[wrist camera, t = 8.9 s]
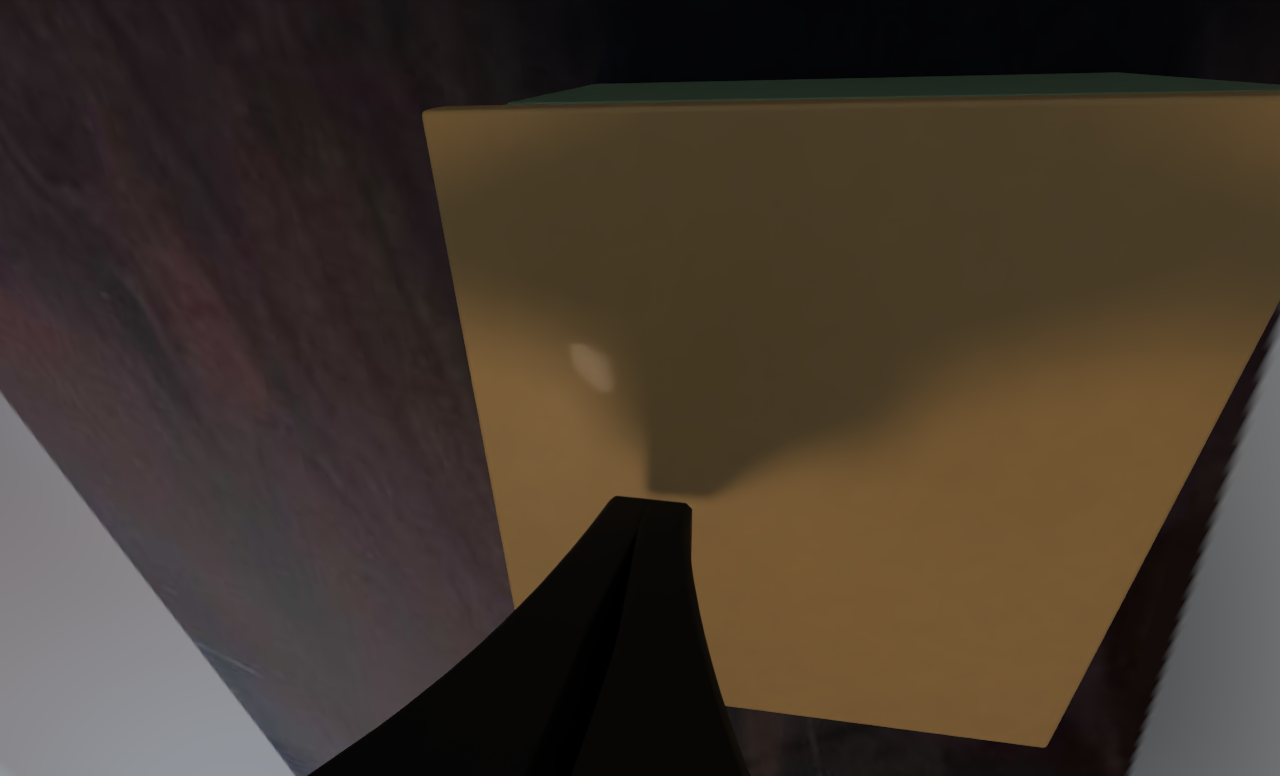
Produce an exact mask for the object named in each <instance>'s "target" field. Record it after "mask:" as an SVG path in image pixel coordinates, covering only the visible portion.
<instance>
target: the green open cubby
mask: <svg viewBox="0 0 1280 776" xmlns="http://www.w3.org/2000/svg"><path fill="white" fill-rule="evenodd" d="M1229 91H1280V85H1274V84H1261V83H1248V82H1235V81H1222V80H1209V79H1196V78H1183V77H1170V76H1157V75H1144V74H1131V73H1118V72H1114V73H1069V74H1024V75H979V76H934V77H888V78H843V79H798V80H753V81H708V82H663V83H618V84H593V85H588V86H584V87H579V88H574V89H570V90H565V91H560V92H556V93H551V94H546V95H542V96H537V97H532V98H528V99H523V100H518V101H514V102H509V103H507V105H536V104H589V103H642V102H696V101H749V100H803V99H856V98H909V97H963V96H1016V95H1069V94H1123V93H1176V92H1229Z"/></svg>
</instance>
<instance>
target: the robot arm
mask: <svg viewBox="0 0 1280 776" xmlns="http://www.w3.org/2000/svg"><path fill="white" fill-rule="evenodd" d="M691 553H692V508H691V507H690V506H689V505H688V504H687V503H682V502H672V501H663V500H653V499H644V498H634V497H624V496H615V497H613V498H612V499H611V500H609V502H608V503H607V504H606V506H605V507H604V508H603V510H602V511H601V512H600V514H599V515H598V516H597V518H596V519H595V520H594V522H593V523H592V524H591V525H590V527H589V528H588V529H587V530H586V532H585V533H584V534H583V535H582V537H581V538H580V539H579V540H578V541H577V543H576V544H575V545H574V546H573V547H572V549H571V550H570V551H569V552H568V553H567V554H566V556H565V557H564V558H563V559H562V560H561V561H560V562H559V564H558V565H557V566H556V567H555V568H554V569H553V570H552V571H551V573H550V574H549V575H548V576H547V577H546V578H545V579H544V581H543V582H542V583H541V584H540V585H539V586H538V587H537V588H536V589H535V590H534V591H533V592H532V593H531V594H530V595H529V596H528V597H527V598H526V599H525V600H524V601H523V602H522V603H521V604H520V605H519V606H518V607H517V608H516V609H515V610H514V612H513V613H512V614H511V615H510V616H509V617H508V618H507V619H506V620H505V621H504V622H503V623H502V624H501V625H500V626H499V627H498V628H496V629H495V630H494V631H493V632H492V633H491V634H490V635H489V636H488V637H487V638H486V639H485V640H484V641H483V642H481V643H480V644H479V645H478V646H477V647H476V648H475V649H474V650H473V651H472V652H470V653H469V654H468V655H467V656H466V657H465V658H463V659H462V660H461V661H460V662H459V663H458V664H457V665H455V666H454V667H453V668H452V669H451V670H450V671H448V672H447V673H446V674H445V675H444V676H442V677H441V678H440V679H439V680H437V681H436V682H435V683H434V684H432V685H431V686H430V687H429V688H427V689H426V690H425V691H424V692H422V693H421V694H420V695H419V696H418V697H416V698H415V699H414V700H413V701H411V702H410V703H409V704H408V705H406V706H405V707H404V708H402V709H401V710H400V711H398V712H397V713H396V714H394V715H393V716H392V717H390V718H389V719H388V720H386V721H385V722H384V723H382V724H381V725H380V726H378V727H377V728H376V729H374V730H373V731H371V732H370V733H368V734H367V735H366V736H364V737H363V738H361V739H360V740H358V741H357V742H355V743H354V744H353V745H351V746H350V747H348V748H347V749H345V750H344V751H342V752H341V753H339V754H338V755H337V756H335V757H334V758H332V759H331V760H329V761H328V762H326V763H325V764H324V765H322V766H321V767H319V768H318V769H316V770H315V771H313V772H312V773H311V774H309V775H308V776H750V775H749V772H748V770H747V767H746V765H745V762H744V759H743V756H742V754H741V751H740V748H739V745H738V742H737V739H736V737H735V734H734V731H733V728H732V725H731V722H730V719H729V716H728V713H727V710H726V707H725V704H724V701H723V698H722V695H721V691H720V688H719V685H718V681H717V678H716V674H715V671H714V667H713V664H712V660H711V656H710V652H709V649H708V645H707V641H706V637H705V633H704V629H703V624H702V620H701V615H700V611H699V605H698V600H697V594H696V589H695V583H694V577H693V570H692V562H691Z"/></svg>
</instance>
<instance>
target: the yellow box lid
mask: <svg viewBox="0 0 1280 776" xmlns="http://www.w3.org/2000/svg"><path fill="white" fill-rule="evenodd" d="M422 118H423V124H424V129H425V134H426V140H427V145H428V150H429V156H430V161H431V166H432V172H433V177H434V182H435V188H436V193H437V198H438V203H439V209H440V214H441V219H442V225H443V230H444V235H445V241H446V246H447V251H448V257H449V262H450V267H451V273H452V278H453V283H454V289H455V294H456V299H457V305H458V310H459V315H460V321H461V326H462V331H463V337H464V342H465V347H466V353H467V358H468V363H469V369H470V374H471V379H472V385H473V390H474V395H475V401H476V406H477V411H478V417H479V422H480V427H481V433H482V438H483V443H484V448H485V454H486V459H487V464H488V470H489V475H490V480H491V486H492V491H493V496H494V502H495V507H496V512H497V518H498V523H499V528H500V534H501V539H502V544H503V550H504V555H505V560H506V566H507V571H508V576H509V582H510V587H511V592H512V598H513V603H514V608H515V609H516V608H517V607H518V606H519V605H520V604H521V603H522V602H523V601H524V600H525V599H526V598H527V597H528V596H529V595H530V594H531V593H532V592H533V591H534V590H535V589H536V588H537V587H538V586H539V585H540V584H541V583H542V582H543V581H544V579H545V578H546V577H547V576H548V575H549V574H550V573H551V571H552V570H553V569H554V568H555V567H556V566H557V565H558V564H559V562H560V561H561V560H562V559H563V558H564V557H565V556H566V554H567V553H568V552H569V551H570V550H571V549H572V547H573V546H574V545H575V544H576V543H577V541H578V540H579V539H580V538H581V537H582V535H583V534H584V533H585V532H586V530H587V529H588V528H589V527H590V525H591V524H592V523H593V522H594V520H595V519H596V518H597V516H598V515H599V514H600V512H601V511H602V510H603V508H604V507H605V506H606V504H607V503H608V502H609V500H611V499H612V498H613V497H615V496H624V497H634V498H644V499H653V500H663V501H672V502H682V503H687V504H688V505H689V506H690V507H691V508H692V553H691V562H692V570H693V577H694V583H695V589H696V594H697V600H698V605H699V611H700V615H701V620H702V624H703V629H704V633H705V637H706V641H707V645H708V649H709V652H710V656H711V660H712V664H713V667H714V671H715V674H716V678H717V681H718V685H719V688H720V691H721V695H722V698H723V701H724V704H725V706H732V707H739V708H747V709H754V710H762V711H769V712H777V713H785V714H792V715H800V716H807V717H815V718H823V719H830V720H838V721H845V722H853V723H861V724H868V725H876V726H883V727H891V728H898V729H906V730H914V731H921V732H929V733H936V734H944V735H952V736H959V737H967V738H974V739H982V740H989V741H997V742H1005V743H1012V744H1020V745H1027V746H1035V747H1046V746H1047V745H1048V743H1049V741H1050V739H1051V737H1052V735H1053V734H1054V732H1055V730H1056V728H1057V726H1058V724H1059V722H1060V720H1061V718H1062V716H1063V714H1064V712H1065V711H1066V709H1067V707H1068V705H1069V703H1070V701H1071V699H1072V697H1073V695H1074V693H1075V691H1076V690H1077V688H1078V686H1079V684H1080V682H1081V680H1082V678H1083V676H1084V674H1085V672H1086V670H1087V668H1088V667H1089V665H1090V663H1091V661H1092V659H1093V657H1094V655H1095V653H1096V651H1097V649H1098V647H1099V645H1100V644H1101V642H1102V640H1103V638H1104V636H1105V634H1106V632H1107V630H1108V628H1109V626H1110V624H1111V623H1112V621H1113V619H1114V617H1115V615H1116V613H1117V611H1118V609H1119V607H1120V605H1121V603H1122V601H1123V600H1124V598H1125V596H1126V594H1127V592H1128V590H1129V588H1130V586H1131V584H1132V582H1133V580H1134V579H1135V577H1136V575H1137V573H1138V571H1139V569H1140V567H1141V565H1142V563H1143V561H1144V559H1145V557H1146V556H1147V554H1148V552H1149V550H1150V548H1151V546H1152V544H1153V542H1154V540H1155V538H1156V536H1157V534H1158V533H1159V531H1160V529H1161V527H1162V525H1163V523H1164V521H1165V519H1166V517H1167V515H1168V513H1169V512H1170V510H1171V508H1172V506H1173V504H1174V502H1175V500H1176V498H1177V496H1178V494H1179V492H1180V490H1181V489H1182V487H1183V485H1184V483H1185V481H1186V479H1187V477H1188V475H1189V473H1190V471H1191V469H1192V468H1193V466H1194V464H1195V462H1196V460H1197V458H1198V456H1199V454H1200V452H1201V450H1202V448H1203V446H1204V445H1205V443H1206V441H1207V439H1208V437H1209V435H1210V433H1211V431H1212V429H1213V427H1214V425H1215V423H1216V422H1217V420H1218V418H1219V416H1220V414H1221V412H1222V410H1223V408H1224V406H1225V404H1226V402H1227V401H1228V399H1229V397H1230V395H1231V393H1232V391H1233V389H1234V387H1235V385H1236V383H1237V381H1238V379H1239V378H1240V376H1241V374H1242V372H1243V370H1244V368H1245V366H1246V364H1247V362H1248V360H1249V358H1250V356H1251V355H1252V353H1253V351H1254V349H1255V347H1256V345H1257V343H1258V341H1259V339H1260V337H1261V335H1262V334H1263V332H1264V330H1265V328H1266V326H1267V324H1268V322H1269V320H1270V318H1271V316H1272V314H1273V312H1274V311H1275V309H1276V307H1277V305H1278V303H1279V301H1280V91H1229V92H1176V93H1123V94H1069V95H1016V96H963V97H909V98H856V99H803V100H749V101H696V102H642V103H589V104H536V105H482V106H443V107H438V108H433V109H428V110H426V111H424V112H423V115H422Z"/></svg>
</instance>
